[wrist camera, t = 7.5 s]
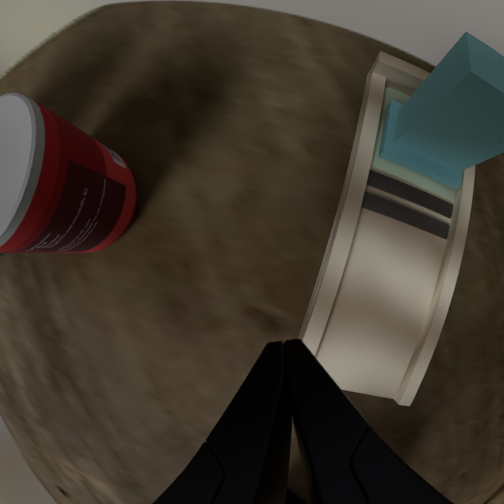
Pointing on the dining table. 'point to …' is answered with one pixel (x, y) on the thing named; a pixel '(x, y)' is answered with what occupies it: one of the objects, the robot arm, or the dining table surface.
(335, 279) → the box
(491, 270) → the dining table surface
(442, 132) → the slider
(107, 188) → the canned food
